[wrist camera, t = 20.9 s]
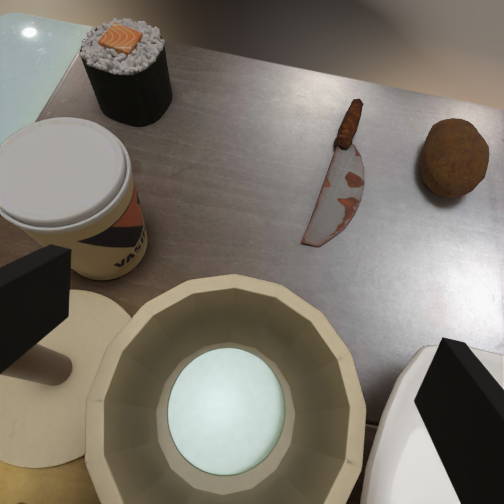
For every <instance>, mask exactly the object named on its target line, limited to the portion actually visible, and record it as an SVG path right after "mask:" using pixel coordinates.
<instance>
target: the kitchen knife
mask: <svg viewBox="0 0 504 504" xmlns="http://www.w3.org/2000/svg"><path fill="white" fill-rule="evenodd" d="M362 106H363V103H362V101H361V100H360V99H354V100H353V101H352V103H351V105H350V107H349V109H348V111H347V112H346V114H345V117H344V119H343V121H342V123H341V126H340V128H339V130H338V136H337V138H336V139H335V141H334V148H335V149H336V150H335V153H334V155H333V158H332V161H331V164H330V167H329V169H328V172H327V175H326V178H325V181H324V184H323V186H322V189H321V192H320V195H319V198H318V200H317V203H316V206H315V209H314V212H313V215H312V217H311V220H310V223H309V225H308V227H307V230H306V232H305V234H304V236H303V238H302V241H301V243H305V244H309V245H313V246H317V247H319V246H321V245H322V244H324V243H325V242H327V241H329V240H330V239H332V238H333V237H335V236H336V235H337V234H338V233H340V232H341V231H342V230H344V229H345V227H346V226H347V225H348V223H349V222H350V221H351V219H352V218H353V217H354V215H355V213H356V210H357V208H358V206H359V203H360V201H361V197H362V192H363V187H364V167H363V163H362V159H361V155H360V154H359V152H358V151H357V149H356V147H355V146H354V145H353V144H352V138H353V136H354V135H355V133H356V131H357V127H358V124H359V120H360V117H361V112H362Z"/></svg>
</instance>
